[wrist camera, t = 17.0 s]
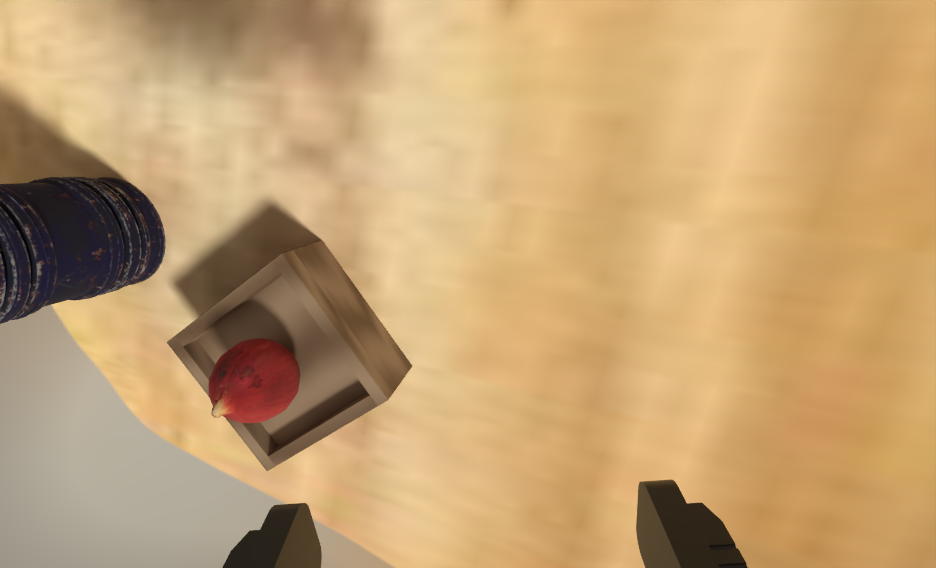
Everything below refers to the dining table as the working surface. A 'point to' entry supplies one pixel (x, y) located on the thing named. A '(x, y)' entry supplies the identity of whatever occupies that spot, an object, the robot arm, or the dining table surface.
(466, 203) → the dining table surface
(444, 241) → the dining table surface
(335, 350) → the wooden square tray
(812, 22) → the dining table surface
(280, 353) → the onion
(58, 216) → the storage jar
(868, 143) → the dining table surface
